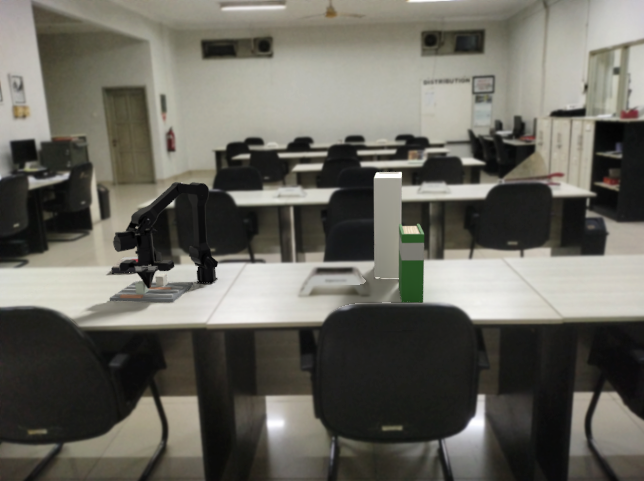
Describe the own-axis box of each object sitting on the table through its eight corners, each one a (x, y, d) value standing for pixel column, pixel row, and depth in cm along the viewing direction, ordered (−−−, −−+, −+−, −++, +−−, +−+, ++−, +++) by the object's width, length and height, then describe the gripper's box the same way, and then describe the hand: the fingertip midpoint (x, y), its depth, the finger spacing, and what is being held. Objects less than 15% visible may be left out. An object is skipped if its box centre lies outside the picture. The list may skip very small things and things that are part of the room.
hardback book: (398, 286, 199) (398, 224, 194) (418, 286, 198) (419, 223, 193) (401, 302, 182) (401, 234, 177) (423, 302, 181) (424, 234, 176)
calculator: (110, 266, 226) (122, 256, 240) (112, 276, 227) (123, 264, 241) (136, 265, 226) (146, 255, 241) (137, 275, 227) (147, 264, 242)
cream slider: (167, 283, 204) (166, 273, 204) (163, 286, 201) (162, 276, 200) (160, 283, 205) (159, 273, 204) (156, 286, 201) (155, 276, 201)
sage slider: (148, 291, 196) (147, 280, 195) (143, 294, 193) (142, 283, 192) (140, 291, 197) (139, 280, 196) (136, 294, 193) (135, 283, 192)
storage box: (400, 279, 207) (401, 177, 198) (374, 279, 209) (373, 177, 200) (401, 265, 228) (401, 172, 219) (376, 264, 229) (376, 172, 220)
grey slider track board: (193, 285, 208) (193, 280, 207) (173, 302, 188) (172, 296, 188) (135, 284, 211) (135, 279, 210) (109, 301, 192) (109, 295, 191)
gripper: (178, 241, 197) (181, 281, 200) (131, 241, 199) (135, 281, 203) (166, 248, 186) (170, 290, 190) (116, 248, 189) (121, 290, 192)
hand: (149, 287), depth 194 cm, fingers closed
